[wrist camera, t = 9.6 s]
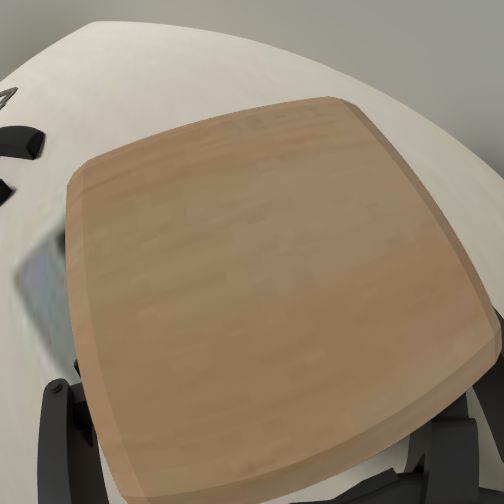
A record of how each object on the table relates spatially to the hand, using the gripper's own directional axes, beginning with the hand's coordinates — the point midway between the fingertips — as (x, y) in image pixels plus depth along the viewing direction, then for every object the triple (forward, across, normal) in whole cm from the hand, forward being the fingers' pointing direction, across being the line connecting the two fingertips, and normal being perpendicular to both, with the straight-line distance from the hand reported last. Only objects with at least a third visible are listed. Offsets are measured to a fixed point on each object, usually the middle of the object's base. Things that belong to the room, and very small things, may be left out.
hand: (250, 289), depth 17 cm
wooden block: (+5, 0, -9) cm, 10 cm away
